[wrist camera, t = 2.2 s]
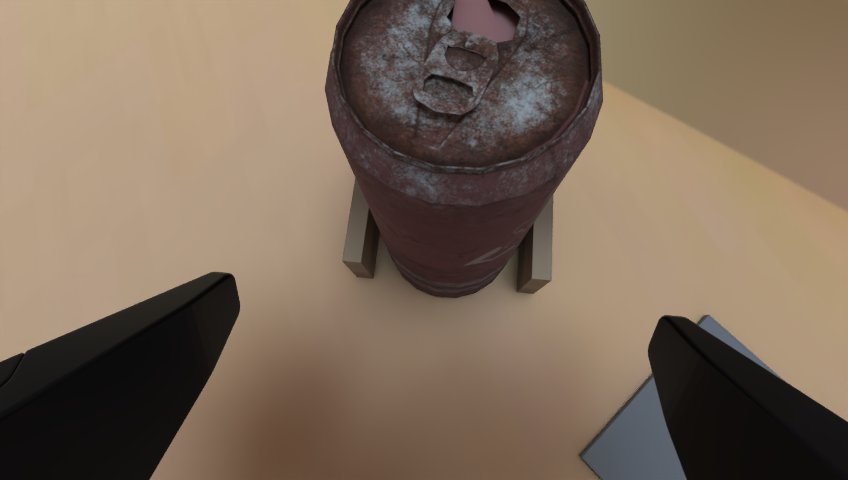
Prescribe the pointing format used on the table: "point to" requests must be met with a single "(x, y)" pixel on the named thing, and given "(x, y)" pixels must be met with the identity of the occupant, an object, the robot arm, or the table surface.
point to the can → (461, 124)
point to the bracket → (531, 249)
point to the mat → (646, 430)
